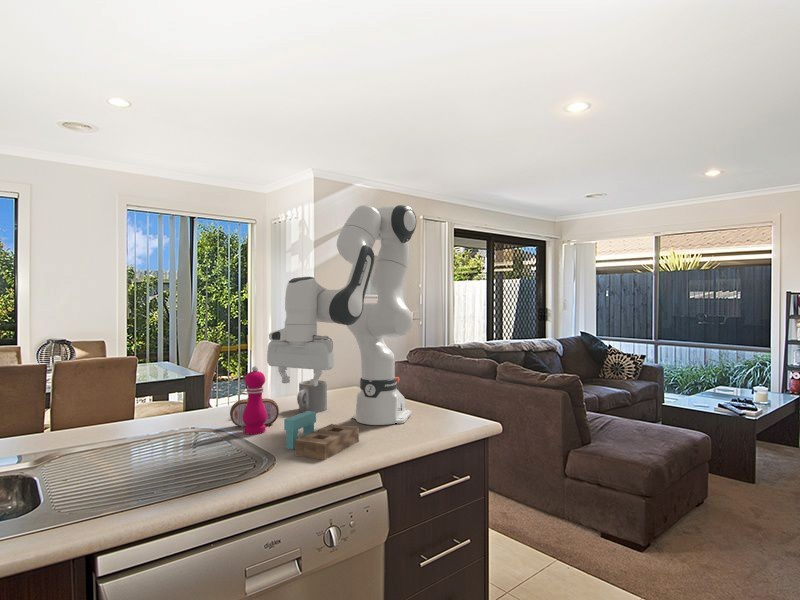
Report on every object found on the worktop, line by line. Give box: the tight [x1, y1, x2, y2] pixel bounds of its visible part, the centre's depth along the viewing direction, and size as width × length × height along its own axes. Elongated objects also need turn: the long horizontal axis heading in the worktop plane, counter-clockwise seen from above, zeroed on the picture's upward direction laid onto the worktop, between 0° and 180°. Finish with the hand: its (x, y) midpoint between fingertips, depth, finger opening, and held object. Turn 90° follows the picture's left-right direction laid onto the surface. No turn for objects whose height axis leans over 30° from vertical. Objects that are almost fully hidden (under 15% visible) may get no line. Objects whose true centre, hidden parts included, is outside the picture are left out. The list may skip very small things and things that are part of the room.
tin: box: [229, 398, 280, 428], centre depth 160 cm, size 15×3×8 cm, turn 108°
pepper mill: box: [243, 365, 267, 435], centre depth 152 cm, size 7×7×20 cm
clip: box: [283, 411, 317, 450], centre depth 140 cm, size 11×3×8 cm, turn 157°
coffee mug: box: [296, 379, 328, 414], centre depth 181 cm, size 13×10×10 cm
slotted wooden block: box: [294, 423, 360, 461], centre depth 136 cm, size 18×9×4 cm, turn 157°
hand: (299, 384), depth 139 cm, fingers open, 8 cm apart
